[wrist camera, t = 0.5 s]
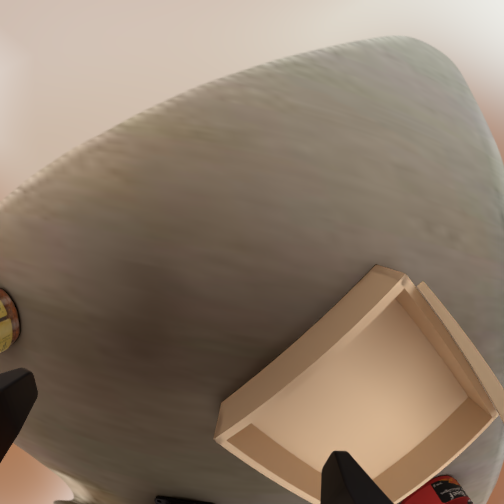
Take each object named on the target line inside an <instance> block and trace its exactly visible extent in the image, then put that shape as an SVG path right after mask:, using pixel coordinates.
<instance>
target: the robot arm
mask: <svg viewBox="0 0 504 504" xmlns="http://www.w3.org/2000/svg"><path fill="white" fill-rule="evenodd" d="M37 395H38V391H37V387H36V383H35V379H34V375H33V373H32V372H31V371H29V370H27V369H25V368H18V369H15V370H11V371H8V372H4V373H1V374H0V463H1V461H2V459H3V458H4V456H5V454H6V453H7V451H8V450H9V448H10V446H11V445H12V443H13V442H14V440H15V439H16V437H17V435H18V434H19V432H20V430H21V428H22V426H23V424H24V422H25V420H26V418H27V416H28V414H29V412H30V410H31V408H32V406H33V405H34V403H35V401H36V399H37ZM155 503H156V504H210V503H201V502H192V501H185V500H178V499H172V498H166V497H160V496H157V497H156V498H155ZM320 504H394V503H393V502H392V501H391V500H390V499H389V498H388V497H387V495H386V494H385V493H384V492H383V491H382V490H381V489H380V488H379V487H378V485H377V484H376V483H375V482H374V481H373V480H372V479H371V478H370V476H369V475H368V474H367V473H366V472H365V471H364V470H363V469H362V467H361V466H360V465H359V464H358V463H357V462H356V460H355V459H354V458H353V457H352V456H351V455H350V453H349V452H347V451H333V452H332V453H331V454H330V456H329V458H328V459H327V461H326V463H325V464H324V466H323V468H322V473H321V500H320Z"/></svg>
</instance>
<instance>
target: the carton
mask: <svg viewBox="0 0 504 504" xmlns="http://www.w3.org/2000/svg"><path fill="white" fill-rule="evenodd" d="M497 416H498V413H497V412H496V410H495V408H494V406H493V404H492V402H491V401H490V399H489V397H488V395H487V394H486V392H485V390H484V388H483V387H482V385H481V383H480V382H479V380H478V378H477V377H476V375H475V373H474V372H473V370H472V368H471V367H470V365H469V364H468V362H467V360H466V359H465V357H464V356H463V354H462V353H461V351H460V349H459V348H458V346H457V345H456V343H455V342H454V340H453V339H452V337H451V336H450V334H449V333H448V331H447V330H446V328H445V327H444V326H443V324H442V323H441V321H440V320H439V318H438V317H437V316H436V314H435V313H434V311H433V310H432V309H431V307H430V306H429V304H428V303H427V302H426V300H425V299H424V298H423V296H422V295H421V293H420V292H419V291H418V289H417V288H416V287H415V285H414V284H413V283H412V281H411V280H410V279H409V278H408V276H407V275H406V274H405V273H402V272H398V271H395V270H392V269H389V268H386V267H383V266H380V265H377V264H376V265H375V266H374V267H373V268H372V269H371V270H370V271H369V272H368V273H367V274H366V275H365V276H364V277H363V278H362V279H361V280H360V281H359V282H358V283H357V284H356V285H355V286H354V287H353V288H352V289H351V290H350V291H349V292H348V293H347V294H346V295H345V296H344V297H343V298H342V299H341V300H340V301H339V302H338V303H337V304H336V305H335V306H334V307H333V308H331V309H330V310H329V311H328V312H327V313H326V314H325V315H324V316H323V317H322V318H321V319H320V320H319V321H318V322H317V323H315V324H314V325H313V326H312V327H311V328H310V329H309V330H308V331H307V332H306V333H304V334H303V335H302V336H301V337H300V338H299V339H298V340H297V341H295V342H294V343H293V344H292V345H291V346H290V347H289V348H287V349H286V350H285V351H284V352H283V353H282V354H281V355H279V356H278V357H277V358H276V359H275V360H274V361H272V362H271V363H270V364H269V365H268V366H266V367H265V368H264V369H263V370H262V371H260V372H259V373H258V374H257V375H255V376H254V377H253V378H252V379H251V380H249V381H248V382H247V383H246V384H244V385H243V386H242V387H241V388H239V389H238V390H237V391H236V392H234V393H233V394H232V395H230V396H229V397H228V398H227V399H225V400H224V401H223V402H221V406H220V411H219V416H218V420H217V425H216V429H215V434H214V439H213V440H215V441H216V442H217V443H219V444H220V445H221V446H223V447H224V448H226V449H227V450H228V451H230V452H231V453H232V454H234V455H235V456H237V457H238V458H239V459H241V460H242V461H244V462H245V463H247V464H248V465H250V466H251V467H253V468H254V469H256V470H257V471H259V472H260V473H262V474H263V475H265V476H266V477H268V478H270V479H271V480H273V481H274V482H276V483H278V484H279V485H281V486H283V487H284V488H286V489H288V490H289V491H291V492H293V493H295V494H296V495H298V496H300V497H302V498H304V499H305V500H307V501H309V502H311V503H313V504H320V500H321V473H322V468H323V466H324V464H325V463H326V461H327V459H328V458H329V456H330V454H331V453H332V452H333V451H347V452H349V453H350V455H351V456H352V457H353V458H354V459H355V460H356V462H357V463H358V464H359V465H360V466H361V467H362V469H363V470H364V471H365V472H366V473H367V474H368V475H369V476H370V478H371V479H372V480H373V481H374V482H375V483H376V484H377V485H378V487H379V488H380V489H381V490H382V491H383V492H384V493H385V494H386V495H387V497H388V498H389V499H390V500H391V501H392V502H393V503H394V504H397V503H399V502H400V501H402V500H403V499H405V498H406V497H407V496H409V495H410V494H412V493H413V492H414V491H416V490H417V489H418V488H420V487H421V486H422V485H424V484H425V483H426V482H428V481H429V480H430V479H431V478H433V477H434V476H435V475H436V474H438V473H439V472H440V471H441V470H442V469H444V468H445V467H446V466H447V465H448V464H450V463H451V462H452V461H453V460H454V459H455V458H456V457H457V456H459V455H460V454H461V453H462V452H463V451H464V450H465V449H466V448H467V447H468V446H469V445H470V444H471V443H472V442H473V441H474V440H475V439H476V438H477V437H478V436H479V435H480V434H481V433H482V432H483V431H484V430H485V429H486V428H487V427H488V426H489V425H490V424H491V423H492V422H493V421H494V420H495V418H496V417H497Z"/></svg>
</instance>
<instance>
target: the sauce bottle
mask: <svg viewBox="0 0 504 504" xmlns="http://www.w3.org/2000/svg"><path fill="white" fill-rule="evenodd" d="M19 332H20V330H19V320H18V313H17V310H16V308H15V305H14V303H13V302H12V300H11V299H10V297H9V295H8V294H7V293H6V292H5V291H3V290H2V289H0V353H1V352H3V351H5V350H6V349H8V348H9V346H10V345H11V344H13V342H15V340H16V339H17V338H18V336H19Z"/></svg>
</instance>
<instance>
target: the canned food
mask: <svg viewBox="0 0 504 504" xmlns="http://www.w3.org/2000/svg"><path fill="white" fill-rule="evenodd" d="M401 504H473V502H472V501H471V500H470V498H469V497H468V496H467V494H466V493H465V491H464V490H463V489H462V487H461V486H460V485H459V483H458V482H457V481H456V480H455V479H454V478H452V477H450V476H440V477H436V478H434V479H431V480H429V481H428V482H426V483H425V484H424V485H422V486H421V487H420V488H418V489H417V490H416V491H414V492H413V493H412V494H410V495H409V496H407V497H406V498H405V499H404V500H403V501H402V503H401Z"/></svg>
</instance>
